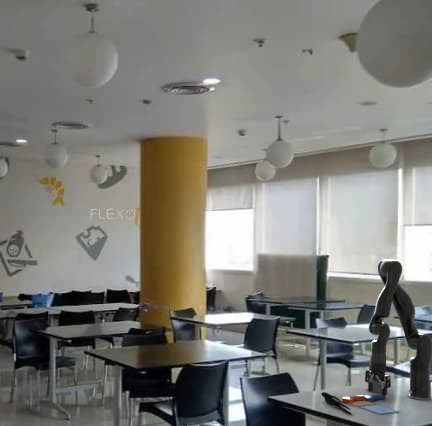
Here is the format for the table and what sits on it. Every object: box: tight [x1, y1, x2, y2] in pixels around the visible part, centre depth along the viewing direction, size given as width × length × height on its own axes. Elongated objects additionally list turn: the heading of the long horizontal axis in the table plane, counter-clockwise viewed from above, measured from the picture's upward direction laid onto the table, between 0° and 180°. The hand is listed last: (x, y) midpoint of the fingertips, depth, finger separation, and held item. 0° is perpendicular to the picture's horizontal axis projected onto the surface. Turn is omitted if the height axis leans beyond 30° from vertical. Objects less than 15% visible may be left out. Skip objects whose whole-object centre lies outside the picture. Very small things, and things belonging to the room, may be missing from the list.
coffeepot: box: [367, 361, 383, 394], centre depth 330 cm, size 15×9×18 cm, turn 178°
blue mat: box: [359, 404, 399, 415], centre depth 292 cm, size 12×12×1 cm
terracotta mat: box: [335, 397, 376, 407], centre depth 306 cm, size 12×14×1 cm
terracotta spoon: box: [341, 394, 366, 404], centre depth 305 cm, size 14×5×3 cm, turn 114°
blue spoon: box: [364, 393, 387, 403], centre depth 311 cm, size 14×5×3 cm, turn 114°
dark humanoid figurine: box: [320, 391, 352, 415], centre depth 294 cm, size 8×9×25 cm
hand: (377, 393), depth 312 cm, fingers open, 8 cm apart
